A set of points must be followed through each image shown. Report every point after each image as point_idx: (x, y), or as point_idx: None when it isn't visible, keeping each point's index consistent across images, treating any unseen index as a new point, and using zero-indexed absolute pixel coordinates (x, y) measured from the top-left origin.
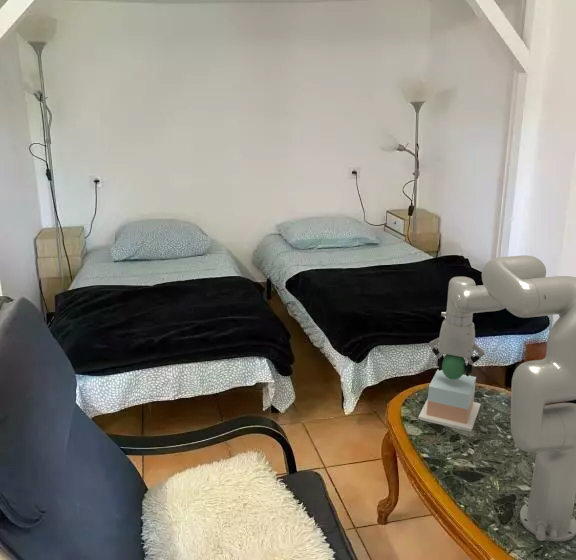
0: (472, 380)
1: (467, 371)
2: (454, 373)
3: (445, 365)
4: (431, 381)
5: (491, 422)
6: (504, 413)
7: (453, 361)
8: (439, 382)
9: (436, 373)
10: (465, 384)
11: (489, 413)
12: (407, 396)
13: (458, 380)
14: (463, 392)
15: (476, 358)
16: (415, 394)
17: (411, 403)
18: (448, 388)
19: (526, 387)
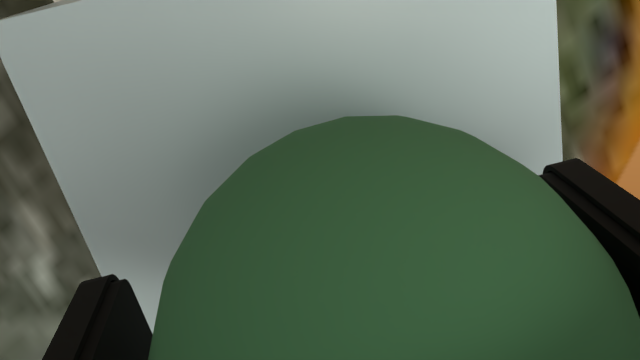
0: None
1: (73, 328)
2: (266, 150)
3: (515, 184)
4: (555, 40)
5: (13, 162)
6: (19, 307)
7: (366, 325)
8: (458, 83)
9: None
10: (177, 236)
11: (88, 251)
12: (625, 102)
13: None
14: (82, 33)
15: None
16: (583, 159)
17: (574, 33)
18: (297, 6)
19: None
